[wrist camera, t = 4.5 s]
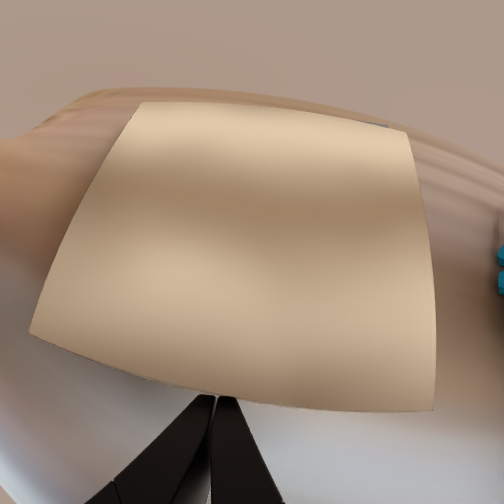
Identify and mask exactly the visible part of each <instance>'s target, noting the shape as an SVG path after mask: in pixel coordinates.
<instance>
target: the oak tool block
mask: <svg viewBox="0 0 504 504" xmlns="http://www.w3.org/2000/svg"><path fill="white" fill-rule="evenodd" d="M28 333H29V334H31V335H33V336H36V337H38V338H40V339H42V340H44V341H46V342H49V343H51V344H53V345H55V346H58V347H60V348H62V349H65V350H67V351H69V352H72V353H74V354H77V355H79V356H82V357H84V358H87V359H89V360H92V361H95V362H97V363H100V364H103V365H105V366H108V367H111V368H114V369H117V370H120V371H123V372H126V373H129V374H132V375H136V376H139V377H142V378H146V379H149V380H153V381H156V382H160V383H164V384H168V385H171V386H175V387H179V388H183V389H188V390H192V391H196V392H201V393H205V394H210V395H215V396H231V397H235V398H236V399H237V400H241V401H247V402H253V403H260V404H266V405H273V406H281V407H289V408H298V409H308V410H318V411H331V412H348V413H393V412H416V411H431V410H433V404H434V392H435V374H436V313H435V294H434V281H433V270H432V260H431V252H430V244H429V237H428V230H427V223H426V217H425V211H424V206H423V201H422V195H421V190H420V186H419V181H418V176H417V172H416V168H415V164H414V160H413V156H412V152H411V148H410V144H409V140H408V137H407V133H405V132H401V131H397V130H393V129H389V128H385V127H381V126H377V125H373V124H368V123H364V122H359V121H354V120H349V119H344V118H339V117H333V116H328V115H322V114H316V113H309V112H303V111H296V110H288V109H280V108H271V107H262V106H251V105H239V104H224V103H202V102H142V104H141V105H140V107H139V108H138V109H137V111H136V112H135V114H134V115H133V116H132V118H131V119H130V121H129V122H128V124H127V125H126V127H125V128H124V130H123V131H122V133H121V134H120V136H119V137H118V139H117V140H116V142H115V144H114V145H113V147H112V148H111V150H110V152H109V153H108V155H107V157H106V158H105V160H104V162H103V163H102V165H101V167H100V168H99V170H98V172H97V174H96V175H95V177H94V179H93V181H92V182H91V184H90V186H89V188H88V190H87V192H86V193H85V195H84V197H83V199H82V201H81V203H80V205H79V207H78V209H77V211H76V213H75V215H74V217H73V219H72V221H71V223H70V225H69V227H68V229H67V231H66V234H65V236H64V238H63V240H62V242H61V245H60V247H59V249H58V252H57V254H56V256H55V259H54V261H53V263H52V266H51V268H50V271H49V273H48V276H47V278H46V281H45V284H44V286H43V289H42V292H41V295H40V297H39V300H38V303H37V306H36V309H35V312H34V315H33V318H32V321H31V325H30V328H29V331H28Z"/></svg>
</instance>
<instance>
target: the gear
mask: <svg viewBox="0 0 504 504" xmlns="http://www.w3.org/2000/svg"><path fill="white" fill-rule="evenodd" d="M497 258H498V263H499V265H501V266H504V245H503V246H502V247H501V248H500V250H499V252H498V254H497ZM498 287H499V294H502V295H504V271H501V272H500V273H499V276H498Z"/></svg>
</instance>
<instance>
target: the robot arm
mask: <svg viewBox="0 0 504 504" xmlns="http://www.w3.org/2000/svg"><path fill="white" fill-rule="evenodd" d="M210 485H211V504H285V502H283V499H282V497H281V495H280V493H279V491H278V489H277V487H276V485H275V483H274V481H273V479H272V476H271V474H270V472H269V470H268V468H267V466H266V464H265V462H264V460H263V458H262V456H261V453H260V451H259V449H258V447H257V445H256V443H255V440H254V438H253V436H252V434H251V432H250V429H249V427H248V425H247V423H246V420H245V418H244V416H243V413H242V411H241V409H240V406H239V404H238V402H237V399H236V398H235V397H231V396H219V397H218V400H217V401H216V397H215V396H214V395H205V394H200V395H198V396H197V397H196V398H195V399H194V400H193V401H192V402H191V403H190V404H189V405H188V406H187V407H186V408H185V409H184V410H183V411H182V412H181V413H180V415H179V416H178V417H177V418H176V419H175V420H174V421H173V422H172V423H171V424H170V425H169V426H168V427H167V428H166V429H165V430H164V431H163V432H162V433H161V434H160V435H159V436H158V437H157V438H156V439H155V440H154V441H153V442H152V443H151V444H150V445H149V446H148V447H147V448H146V449H144V450H143V451H142V452H141V453H140V454H139V455H138V456H137V457H136V458H135V459H134V460H133V461H132V462H131V463H130V464H129V465H128V466H127V467H126V468H125V469H124V470H123V471H121V472H120V473H119V474H118V475H117V476H116V477H115V478H114V481H110V482H109V483H108V484H107V485H106V486H105V487H104V488H103V489H102V490H100V491H99V492H98V493H97V494H96V495H94V496H93V497H92V498H91V499H90V500H88V501H87V502H86V503H85V504H206V501H207V497H208V493H209V489H210Z"/></svg>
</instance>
